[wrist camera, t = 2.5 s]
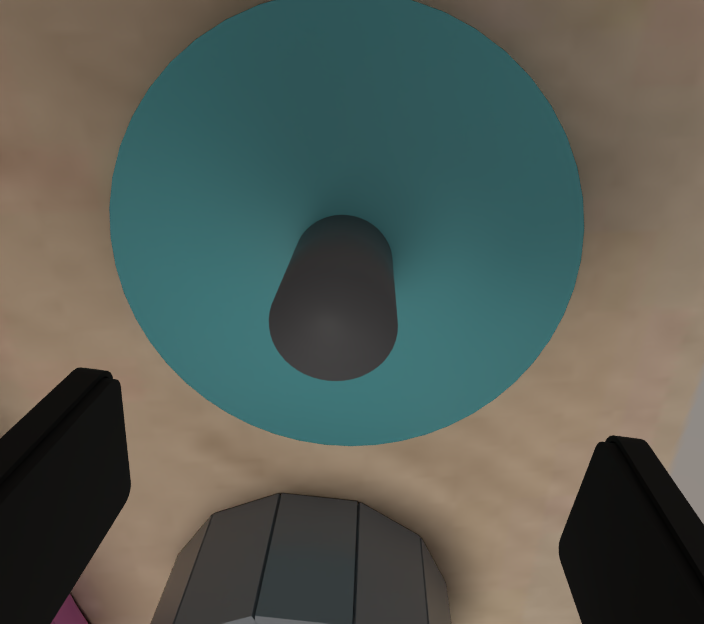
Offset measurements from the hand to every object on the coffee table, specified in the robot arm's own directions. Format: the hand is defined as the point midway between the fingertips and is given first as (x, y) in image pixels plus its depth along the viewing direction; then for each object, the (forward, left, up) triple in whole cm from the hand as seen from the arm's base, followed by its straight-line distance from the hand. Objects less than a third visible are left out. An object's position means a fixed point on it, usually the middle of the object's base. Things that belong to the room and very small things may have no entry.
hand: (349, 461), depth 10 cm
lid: (0, -1, -11) cm, 11 cm away
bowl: (+19, -1, -10) cm, 21 cm away
